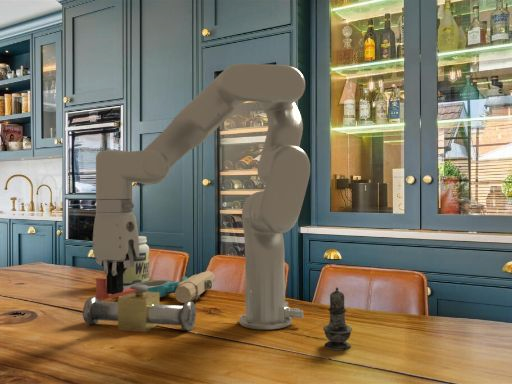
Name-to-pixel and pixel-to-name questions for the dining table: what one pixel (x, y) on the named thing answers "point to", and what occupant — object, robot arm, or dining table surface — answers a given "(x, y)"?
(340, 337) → the salt shaker
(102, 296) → the lever
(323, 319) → the dining table surface
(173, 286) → the butterfly valve
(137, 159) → the robot arm
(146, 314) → the valve body
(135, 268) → the supplement tub
